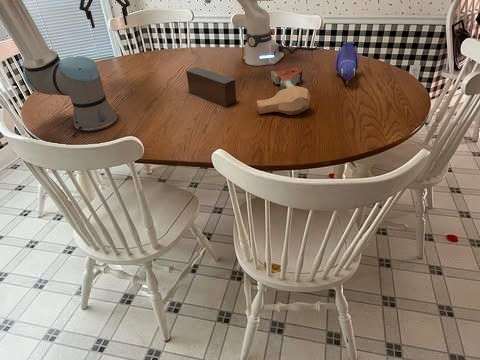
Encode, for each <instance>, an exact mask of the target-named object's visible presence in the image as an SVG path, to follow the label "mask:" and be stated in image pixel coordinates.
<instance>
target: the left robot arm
mask: <svg viewBox="0 0 480 360" xmlns="http://www.w3.org/2000/svg"><path fill="white" fill-rule="evenodd" d="M93 2H94V0H88V1H87V2H86V0H80V3H79V6H78V7H79V8H78V9H79V10H80V11H84V14H85V17H86V19H87V20H88V21H90V25H91V28H92V29H95V28H96V25H95V22H94V17H93V13H92V10H89V9H90V7H91V5H92V3H93ZM115 2H117V3H118V4H119V5H120V6H121V12H122V17H123V21H124V25H125V26H128V21H127V17H128V15H129V13H128V7H130V6H131V2H130V1H129V0H123V1H122V0H115ZM85 3H86V5H85ZM0 22H1V24H2V25H3V27H4V28H5V30H6V32H7V33H8V36H9V37H10V38H11V39H12V41H13V43H14V45H15V46H16V48H17V49H18V51H19V52H20V54H21V56H22V57H23V60H22V66H23V69H22V72H23V76H22V77H23V79H24V81H25V84H26V85H27V86H28V88H30V89H31V90H33V91H34V92H36V93H39V94H43V95H53V96H64V97H65V96H67V97H69V99H70V101H71V104H72V108H73V114H72V117H73V118H72V119H73V125H74V128H75V129H76V131H75V132H74V133H73V134H72V137H73V138H74V137H76V135H78V133H79V132H84V133H92V132H99V131H102V130H105V129H107V128H110V127H111V126H113V125H115V124H116V122H117V121H118V116H117V114H116V111H115V110H114V108H113V107H112V105H111V103H110V102H109V101H108V99H107V96H106V92H105V89H104V85H103V82H102V79H101V78H102V77H101V73H100V71H99V69H98V66H97V64H96V62H95V61H94V60H93V59H92V58H90V57H87V56H82V55H81V56H80V55H76V56H67V57H64V58H62V59H61V58H60V56H59V55H58V53H57V51H55V50H54V49H52V48H50V47H49V46H48V44H47V42H46V40H45V38H44V37H43V35H42V33H41V31H40V30H39V28H38V26H37V24H36V22H35V20H34V19H33V17H32V15H31V13H30V12H29V10H28V7H27V6H26V4H25V2H24V1H23V0H0Z"/></svg>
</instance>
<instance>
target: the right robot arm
mask: <svg viewBox="0 0 480 360" xmlns="http://www.w3.org/2000/svg"><path fill="white" fill-rule="evenodd" d="M236 1H237V3H238V4H239V5H240V6H241V8H242V11H243V12H244V15H245V22H246V34H245V38H246V39H245V40H246V41H245V46H244V48H245V49H244V56H243V60H244V63H245V64H246V65H249V66H259V67H260V66H268V65H275V64H277V63H278V62H279V61H280V60H281V59H282V58H284V56H285V54H284V50H287V51H289V53H291V54H293V53H294V52H295V51H296V50H307V51H309V50H310V51H314V50H316V49H318V48H319V46H320V47H322V44H321V43H320V42H319V43H317V45H316V46H315V47H304V46H302V47H301V46H298V47H294V48H293V49H292V50H291V48H289V47H286V46H284V45H283V44H282V43H278V42H277V41H275V40H274V39H273V36H274V35H275V34H276V32H275V30H272V29H271V15H270V13H269V12H268V11H267V10H266V9H265V8H262V7H261V6H260V5H259V3H258V2H272V1H273V0H236ZM204 3H205V4H210V3H212V1H211V0H204Z"/></svg>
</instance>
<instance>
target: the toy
mask: <svg viewBox="0 0 480 360" xmlns="http://www.w3.org/2000/svg"><path fill="white" fill-rule="evenodd" d="M354 44H355V42H354V41H352V40H350V41H349V42H347V41H343V43H342V47H341V46H339V47H338V50H337V52H336V55H335V60H334V69H335V71H336V72H337V73H338V74H339V75H340V76H341V78H342V79H343V80H345V85H346V86H348V85H349V81H350V80H352V79H353V77H355V75H356V72H357V71H358V69H359V65H360V59H359V58H360V57H359V52H358V48H357V46H356V45H354Z"/></svg>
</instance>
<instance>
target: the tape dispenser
mask: <svg viewBox="0 0 480 360" xmlns="http://www.w3.org/2000/svg"><path fill="white" fill-rule="evenodd" d="M290 71H291V72H290ZM286 72H290V73H288V74H286ZM270 75H271V77H270V78H271V82H274V84H275V85H280V86H279V87H280V90H283V89H287V88H289V87H292V86H297V84H300V83H301V82H302V81H303V80H302V79H303V70H302V69H301V68H300V67H292V68H287V69H280V70H271V71H270Z"/></svg>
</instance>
